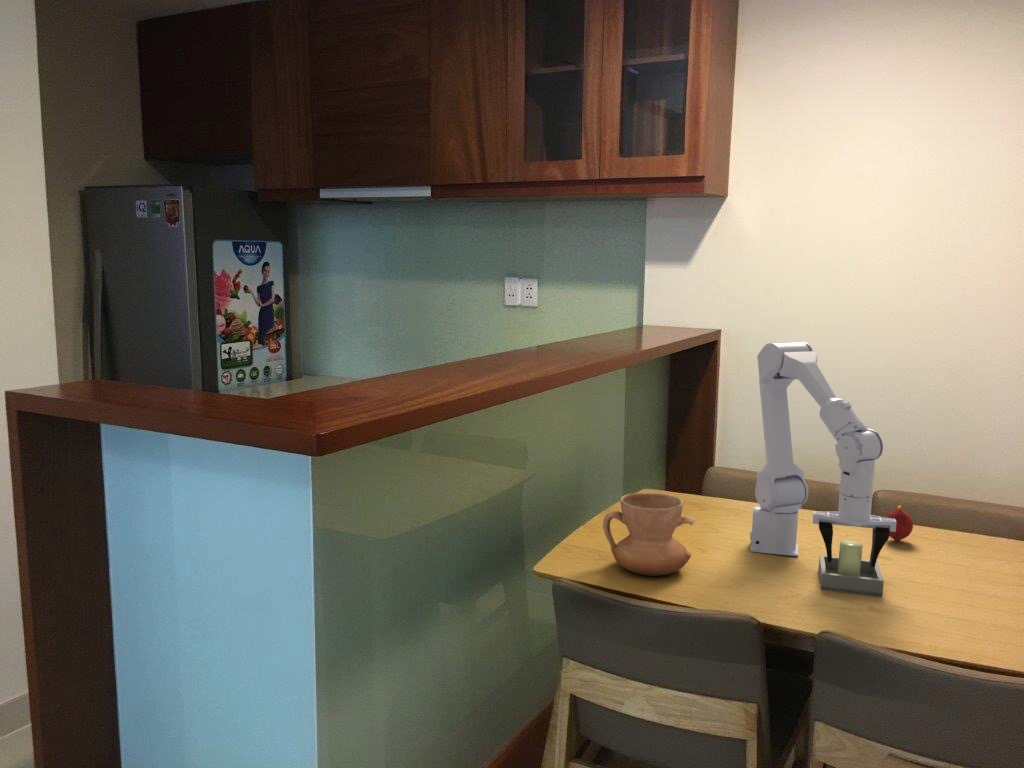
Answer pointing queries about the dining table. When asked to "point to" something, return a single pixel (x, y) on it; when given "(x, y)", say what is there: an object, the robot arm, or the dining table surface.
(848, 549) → the pale green cylinder
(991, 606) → the dining table surface
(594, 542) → the dining table surface
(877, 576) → the tray
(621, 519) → the ceramic jug
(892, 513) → the onion
